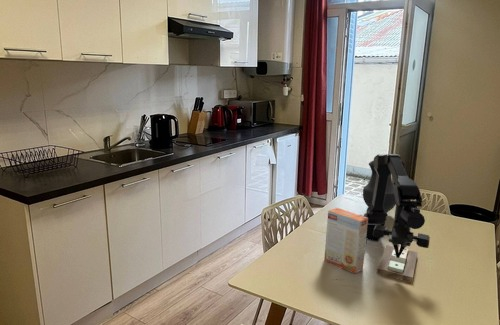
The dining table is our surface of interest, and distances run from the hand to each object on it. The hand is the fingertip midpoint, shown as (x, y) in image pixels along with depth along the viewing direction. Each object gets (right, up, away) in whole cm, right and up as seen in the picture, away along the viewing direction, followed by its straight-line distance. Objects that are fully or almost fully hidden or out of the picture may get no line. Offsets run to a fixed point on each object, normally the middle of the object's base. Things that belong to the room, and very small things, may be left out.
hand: (397, 257), depth 133 cm
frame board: (+3, -5, +8) cm, 10 cm away
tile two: (+3, -3, +7) cm, 8 cm away
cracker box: (-18, -5, +7) cm, 20 cm away
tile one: (0, -6, +2) cm, 6 cm away
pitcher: (+15, +7, +60) cm, 62 cm away
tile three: (+7, -3, +14) cm, 15 cm away
